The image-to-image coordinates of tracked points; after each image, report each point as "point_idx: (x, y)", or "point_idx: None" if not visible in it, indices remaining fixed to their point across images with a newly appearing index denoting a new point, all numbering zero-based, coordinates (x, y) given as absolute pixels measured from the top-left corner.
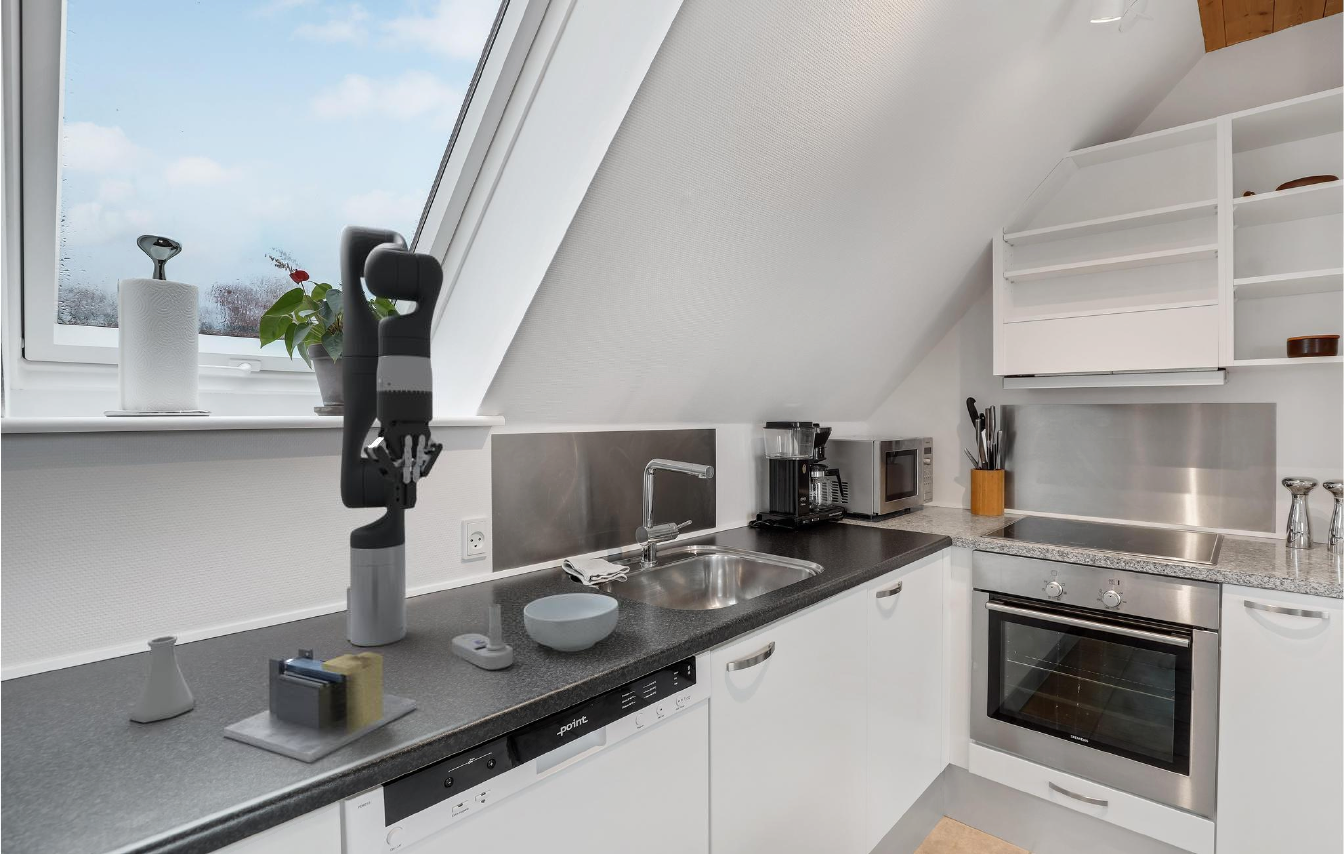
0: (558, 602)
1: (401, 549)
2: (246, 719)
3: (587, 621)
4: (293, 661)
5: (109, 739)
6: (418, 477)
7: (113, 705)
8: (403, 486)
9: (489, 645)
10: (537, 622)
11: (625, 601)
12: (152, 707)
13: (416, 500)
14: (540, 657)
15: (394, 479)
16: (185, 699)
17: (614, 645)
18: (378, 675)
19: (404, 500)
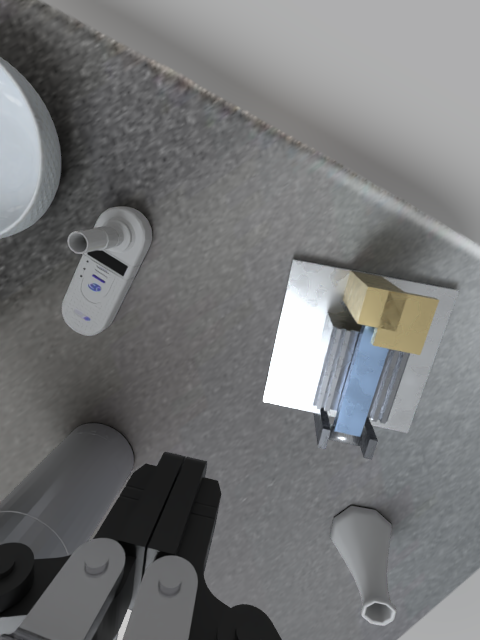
0: None
1: None
2: (383, 425)
3: (8, 66)
4: (349, 432)
5: (427, 525)
6: (77, 559)
7: (355, 582)
8: (190, 556)
9: (123, 243)
10: (45, 176)
11: None
12: (386, 533)
13: (135, 471)
14: (79, 178)
15: (257, 619)
16: (358, 519)
17: None
18: (369, 282)
19: (201, 494)
